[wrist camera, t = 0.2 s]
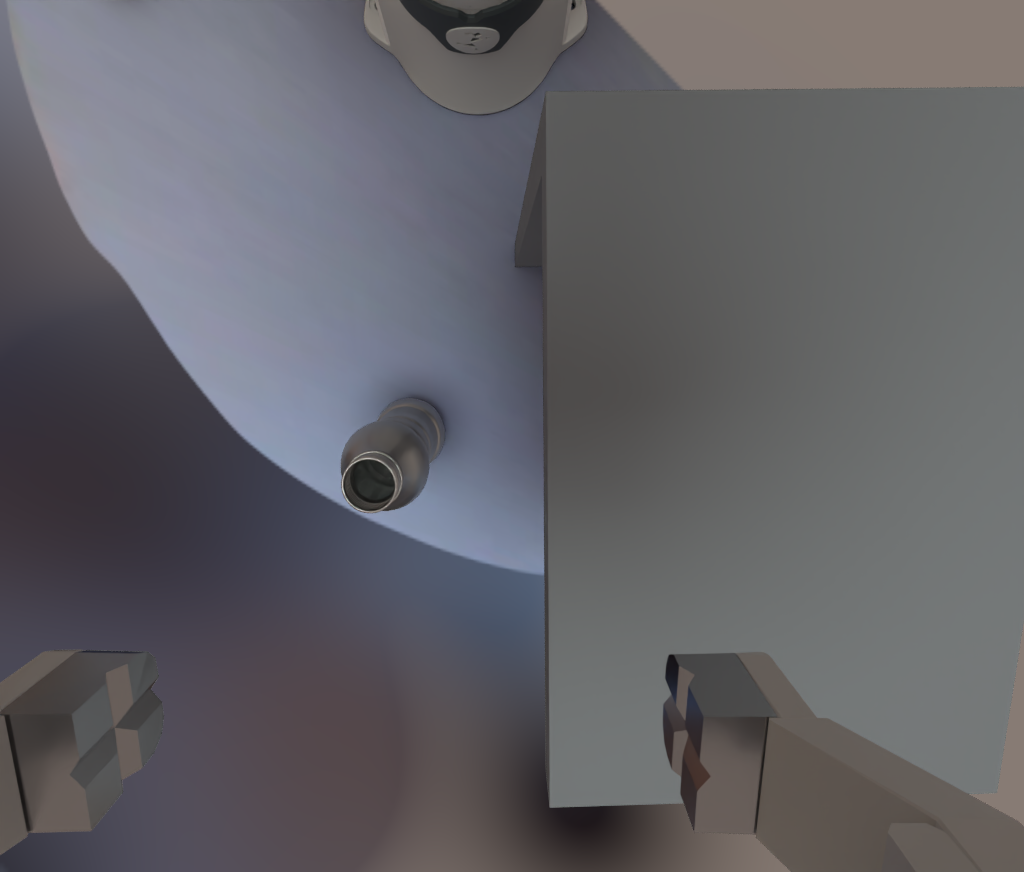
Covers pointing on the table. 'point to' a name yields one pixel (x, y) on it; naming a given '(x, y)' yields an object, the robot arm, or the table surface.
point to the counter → (780, 414)
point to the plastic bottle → (391, 456)
